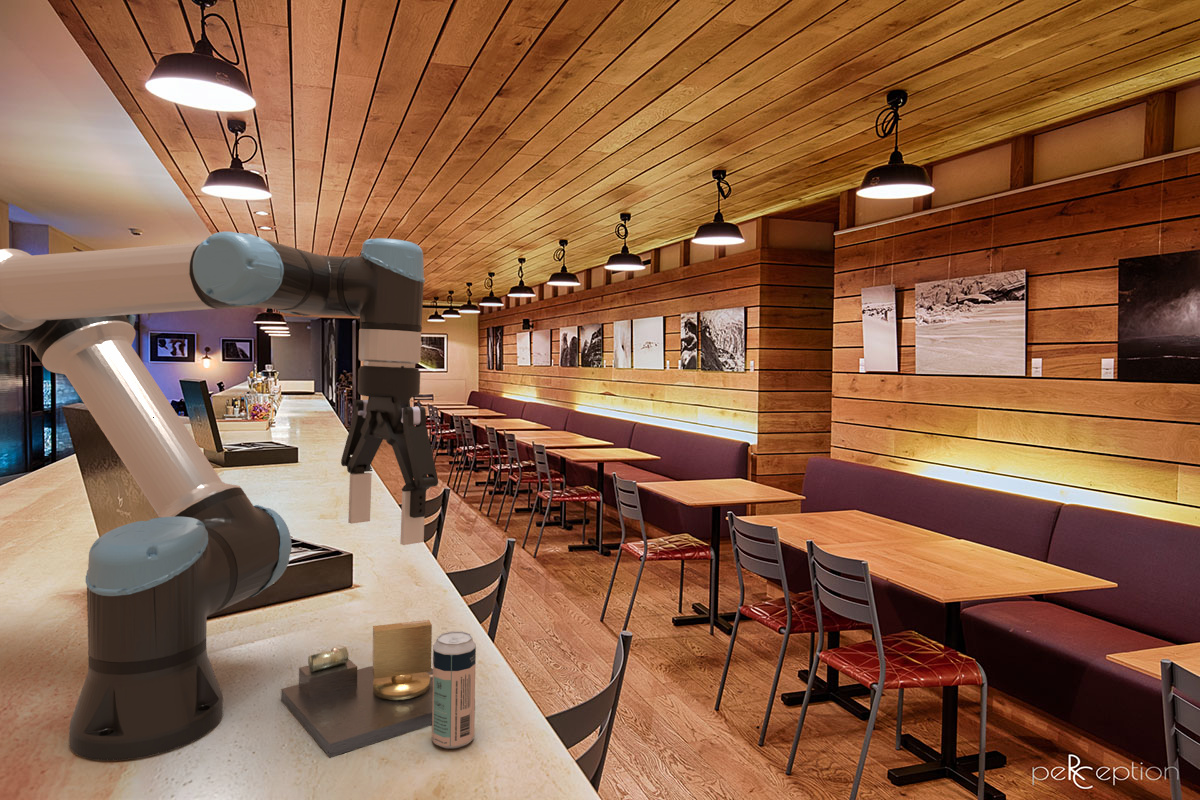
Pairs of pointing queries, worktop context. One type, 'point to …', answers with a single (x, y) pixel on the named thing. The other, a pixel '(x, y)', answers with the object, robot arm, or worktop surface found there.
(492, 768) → the worktop surface
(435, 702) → the beer can
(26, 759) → the worktop surface
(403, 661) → the gold disc with bar
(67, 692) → the worktop surface
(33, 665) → the worktop surface
